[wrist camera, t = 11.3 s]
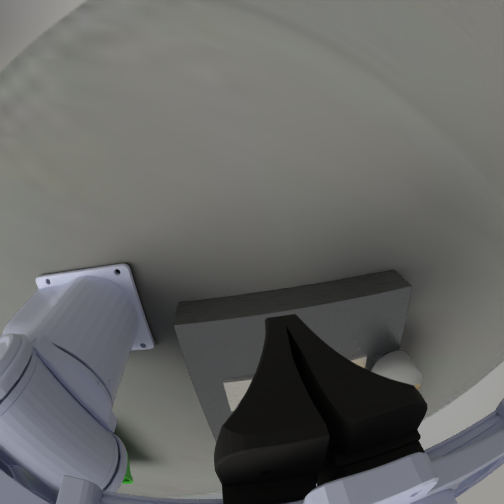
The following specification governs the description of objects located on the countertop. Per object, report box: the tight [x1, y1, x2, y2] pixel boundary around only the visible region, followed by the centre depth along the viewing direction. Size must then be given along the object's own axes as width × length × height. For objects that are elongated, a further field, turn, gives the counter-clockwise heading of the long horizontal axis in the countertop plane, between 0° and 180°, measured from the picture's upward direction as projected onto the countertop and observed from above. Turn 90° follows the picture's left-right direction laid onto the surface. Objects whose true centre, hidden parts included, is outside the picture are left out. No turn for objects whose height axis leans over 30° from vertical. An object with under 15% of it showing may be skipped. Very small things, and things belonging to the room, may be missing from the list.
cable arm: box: [371, 351, 424, 390], centre depth 24 cm, size 18×4×3 cm, turn 8°
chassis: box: [174, 270, 412, 443], centre depth 25 cm, size 18×20×4 cm
